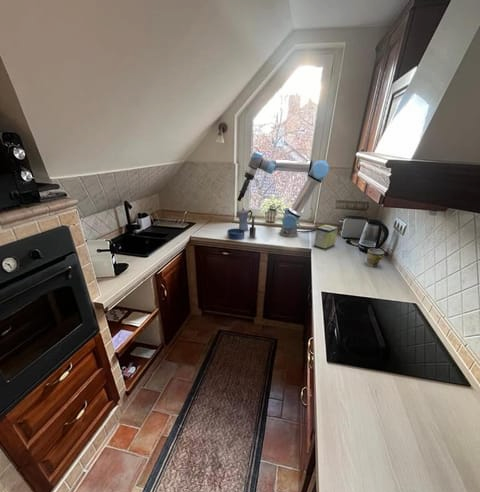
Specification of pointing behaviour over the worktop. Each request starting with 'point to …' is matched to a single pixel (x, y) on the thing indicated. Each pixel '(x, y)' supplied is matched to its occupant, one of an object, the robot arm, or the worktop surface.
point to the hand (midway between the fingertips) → (240, 198)
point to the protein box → (325, 236)
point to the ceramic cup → (374, 257)
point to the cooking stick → (253, 222)
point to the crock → (252, 232)
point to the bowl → (235, 234)
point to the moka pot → (243, 219)
